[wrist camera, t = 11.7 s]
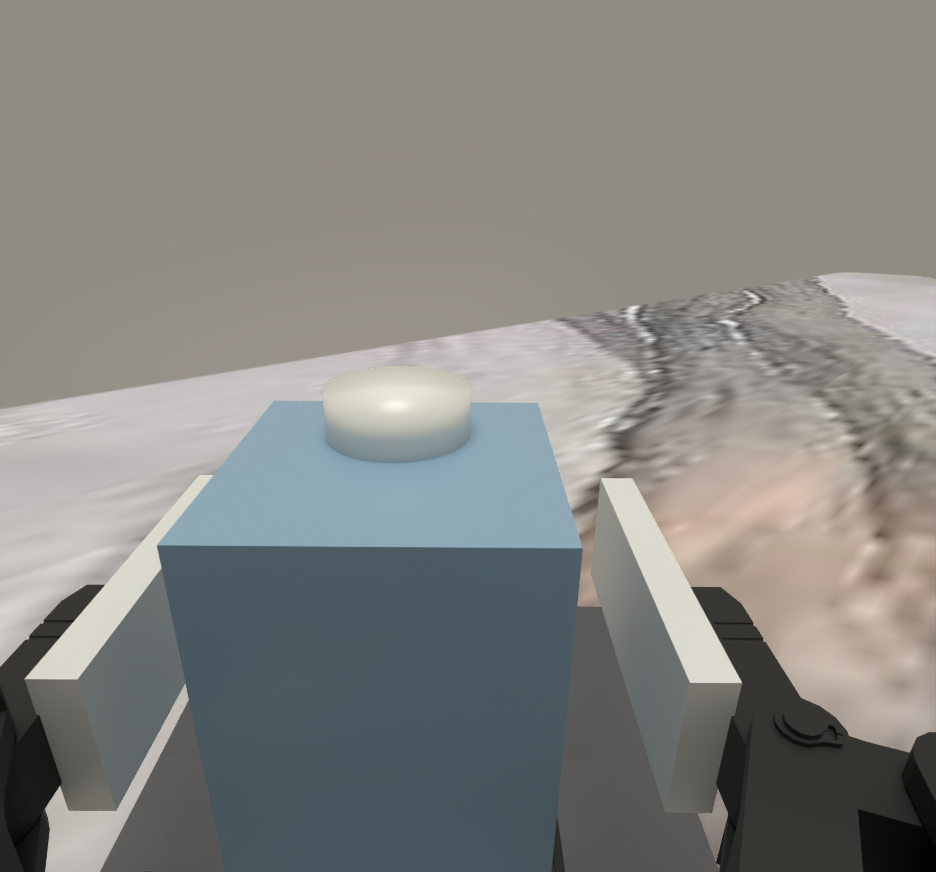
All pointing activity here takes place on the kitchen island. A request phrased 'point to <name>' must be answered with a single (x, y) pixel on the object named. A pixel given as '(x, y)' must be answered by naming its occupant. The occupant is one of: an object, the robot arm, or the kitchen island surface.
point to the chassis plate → (579, 805)
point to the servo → (381, 631)
